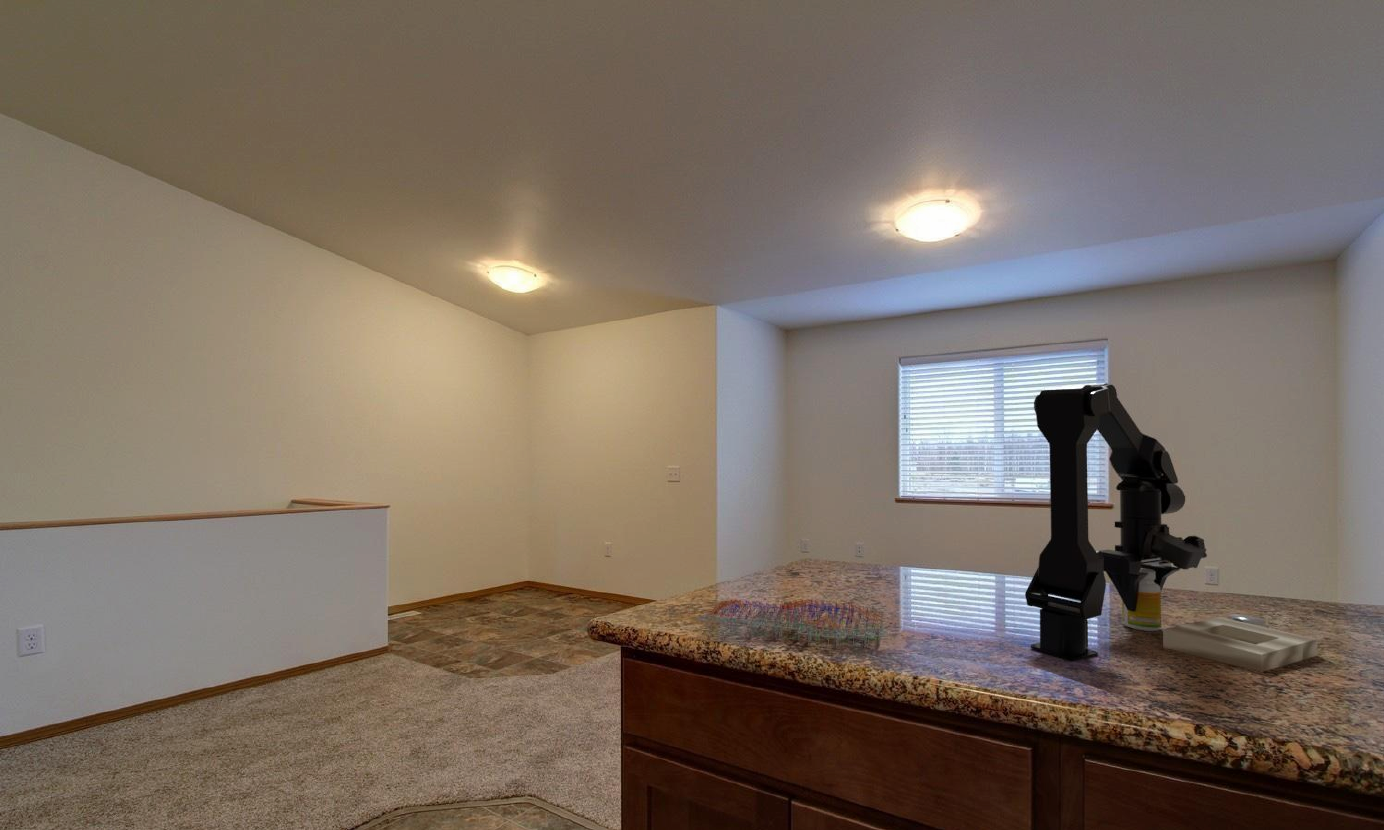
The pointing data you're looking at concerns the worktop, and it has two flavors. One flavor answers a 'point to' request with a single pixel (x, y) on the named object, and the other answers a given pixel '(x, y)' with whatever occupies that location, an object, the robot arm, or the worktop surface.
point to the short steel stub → (1248, 619)
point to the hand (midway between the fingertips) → (1141, 608)
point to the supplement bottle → (1145, 605)
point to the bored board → (1240, 643)
